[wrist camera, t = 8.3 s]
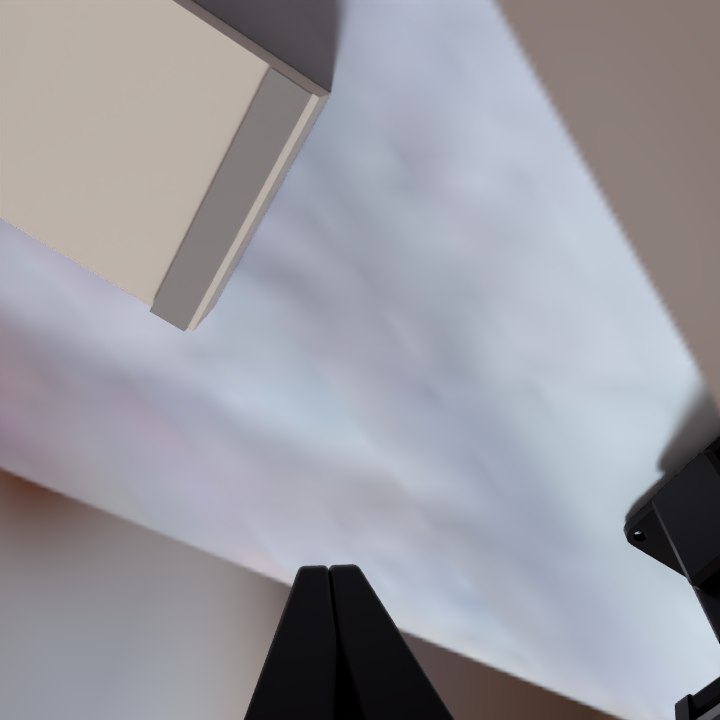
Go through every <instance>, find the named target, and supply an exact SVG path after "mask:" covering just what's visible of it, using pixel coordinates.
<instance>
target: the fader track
mask: <svg viewBox="0 0 720 720" xmlns="http://www.w3.org/2000/svg"><path fill="white" fill-rule="evenodd" d="M330 94H331V93H329V92H328V91H326V90H325V89H323V88H322V87H320V86H319V85H317V84H316V83H314V82H313V81H311V80H310V79H308V78H307V77H305V76H304V75H302V74H301V73H299V72H298V71H296V70H295V69H293V68H292V67H290V66H289V65H287V64H286V63H284V62H283V61H281V60H280V59H278V58H277V57H275V56H274V55H272V54H271V53H269V52H268V51H266V50H265V49H263V48H262V47H260V46H259V45H257V44H256V43H254V42H253V41H251V40H250V39H248V38H247V37H245V36H244V35H242V34H241V33H239V32H238V31H236V30H235V29H233V28H232V27H230V26H229V25H227V24H226V23H224V22H223V21H221V20H220V19H218V18H217V17H215V16H214V15H212V14H211V13H209V12H208V11H206V10H205V9H203V8H202V7H200V6H199V5H197V4H196V3H194V2H193V1H191V0H0V218H1V219H3V220H4V221H6V222H8V223H10V224H11V225H13V226H15V227H16V228H18V229H20V230H22V231H23V232H25V233H27V234H28V235H30V236H32V237H34V238H35V239H37V240H39V241H40V242H42V243H44V244H45V245H47V246H49V247H51V248H52V249H54V250H56V251H57V252H59V253H61V254H63V255H64V256H66V257H68V258H69V259H71V260H73V261H74V262H76V263H78V264H80V265H81V266H83V267H85V268H86V269H88V270H90V271H92V272H93V273H95V274H97V275H98V276H100V277H102V278H104V279H105V280H107V281H109V282H110V283H112V284H114V285H115V286H117V287H119V288H121V289H122V290H124V291H126V292H127V293H129V294H131V295H133V296H134V297H136V298H138V299H139V300H141V301H143V302H144V303H146V304H148V305H150V306H151V309H150V312H152V313H154V314H155V315H157V316H159V317H160V318H162V319H164V320H165V321H167V322H169V323H171V324H172V325H174V326H176V327H177V328H179V329H181V330H183V331H185V330H186V329H187V328H189V329H191V330H192V331H194V330H195V329H196V327H197V326H198V325H199V324H200V323H201V322H202V321H203V319H204V318H205V317H206V316H207V315H208V314H209V312H210V311H211V310H212V309H213V308H214V306H215V304H216V302H217V300H218V298H219V297H220V295H221V293H222V291H223V289H224V287H225V286H226V284H227V282H228V280H229V278H230V276H231V275H232V273H233V271H234V269H235V267H236V266H237V264H238V262H239V260H240V258H241V256H242V255H243V253H244V251H245V249H246V247H247V245H248V244H249V242H250V240H251V238H252V236H253V234H254V233H255V231H256V229H257V227H258V225H259V223H260V222H261V220H262V218H263V216H264V214H265V213H266V211H267V209H268V207H269V205H270V203H271V202H272V200H273V198H274V196H275V194H276V192H277V191H278V189H279V187H280V185H281V183H282V181H283V180H284V178H285V176H286V174H287V172H288V170H289V169H290V167H291V165H292V163H293V161H294V160H295V158H296V156H297V154H298V152H299V150H300V149H301V147H302V145H303V143H304V141H305V139H306V138H307V136H308V134H309V132H310V130H311V128H312V127H313V125H314V123H315V121H316V119H317V118H318V116H319V114H320V112H321V110H322V108H323V107H324V105H325V103H326V101H327V99H328V97H329V96H330Z"/></svg>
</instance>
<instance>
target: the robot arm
mask: <svg viewBox="0 0 720 720" xmlns="http://www.w3.org/2000/svg"><path fill="white" fill-rule="evenodd" d="M641 530H643V531H644V532H642V533H641V534H635V532H637V531H641ZM624 533H625V536H626V538H627V541H628V542H629V543H630V544H631V545H633V546H634V547H636V548H638V549H639V550H641V551H643V552H644V553H646V554H648V555H649V556H651V557H653V558H654V559H656V560H658V561H659V562H661V563H663V564H664V565H666V566H668V567H670V568H671V569H673V570H675V571H676V572H678V573H680V574H681V575H683V576H685V577H686V578H687V580H688V582H689V583H690V584H691V586H692V587H693V589H694V591H695V594H696V596H697V598H698V600H699V602H700V604H701V606H702V608H703V610H704V612H705V615H706V617H707V619H708V621H709V623H710V625H711V627H712V629H713V631H714V633H715V636H716V638H717V640H718V642H719V644H720V436H719V437H718V438H717V439H716V440H715V441H714V442H713V443H712V444H711V445H710V446H709V447H708V448H706V449H705V450H704V451H703V452H701V453H700V454H699V455H698V456H697V457H696V458H695V459H694V460H693V461H691V462H690V463H689V464H688V465H687V466H686V467H685V468H684V469H683V470H682V471H681V472H680V473H679V474H677V475H676V476H675V477H674V478H673V479H672V480H671V481H670V482H669V483H668V484H667V485H666V486H665V487H663V488H662V489H661V490H660V491H659V492H658V493H657V494H656V495H655V496H654V497H653V499H652V500H650V501H649V502H648V503H647V504H646V505H645V506H644V507H643V508H642V509H641V510H640V511H639V512H638V513H636V514H635V515H634V516H633V517H632V518H631V519H630V520H629V521H628V522H627V523H626V524H625V526H624ZM675 717H676V720H720V677H718V678H717V679H715V680H714V681H713V682H711V683H710V684H708V685H707V686H706V687H704V688H703V689H702V690H700V691H699V692H697V693H696V694H695V695H691V694H688V695H687V696H685V697H684V698H682V699H681V700H680V701H678V702H677V703H676V704H675ZM244 720H455V719H454V717H453V716H452V714H451V713H450V711H449V709H448V708H447V706H446V705H445V703H444V701H443V700H442V698H441V697H440V695H439V693H438V692H437V690H436V689H435V687H434V685H433V684H432V682H431V681H430V679H429V678H428V676H427V674H426V673H425V671H424V670H423V668H422V666H421V665H420V663H419V662H418V660H417V658H416V657H415V655H414V654H413V652H412V650H411V649H410V647H409V646H408V644H407V642H406V641H405V639H404V638H403V636H402V635H401V633H400V631H399V630H398V628H397V627H396V625H395V623H394V622H393V620H392V619H391V617H390V615H389V614H388V612H387V611H386V609H385V607H384V606H383V604H382V603H381V601H380V599H379V598H378V596H377V595H376V593H375V591H374V590H373V588H372V587H371V585H370V583H369V582H368V580H367V579H366V577H365V575H364V574H363V572H362V571H361V569H360V568H359V567H358V566H356V565H353V564H349V565H332V566H331V567H330V568H329V570H328V568H327V567H326V566H323V565H319V566H302V567H300V569H299V570H298V572H297V575H296V577H295V580H294V583H293V586H292V588H291V591H290V594H289V597H288V600H287V602H286V605H285V608H284V611H283V613H282V616H281V619H280V622H279V624H278V627H277V630H276V633H275V635H274V638H273V641H272V644H271V646H270V649H269V652H268V655H267V658H266V660H265V663H264V666H263V668H262V671H261V674H260V677H259V679H258V682H257V685H256V688H255V691H254V693H253V696H252V699H251V702H250V704H249V707H248V710H247V713H246V715H245V718H244Z"/></svg>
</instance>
